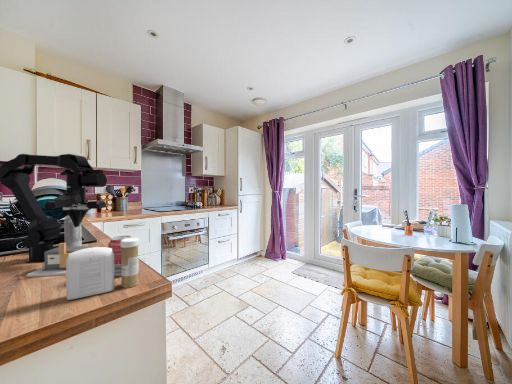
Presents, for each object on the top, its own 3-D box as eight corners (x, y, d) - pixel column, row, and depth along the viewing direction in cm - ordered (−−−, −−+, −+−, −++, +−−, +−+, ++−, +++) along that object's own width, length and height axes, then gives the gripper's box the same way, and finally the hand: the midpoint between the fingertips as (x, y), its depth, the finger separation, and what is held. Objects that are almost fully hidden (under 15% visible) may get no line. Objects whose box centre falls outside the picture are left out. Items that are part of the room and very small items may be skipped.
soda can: (130, 267, 76) (130, 234, 75) (136, 273, 71) (136, 237, 70) (106, 273, 71) (105, 237, 70) (111, 280, 66) (110, 241, 65)
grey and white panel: (26, 276, 68) (26, 255, 68) (58, 262, 81) (57, 244, 81) (89, 273, 70) (88, 253, 70) (110, 260, 83) (109, 243, 83)
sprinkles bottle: (118, 285, 62) (118, 239, 62) (135, 280, 66) (135, 236, 65) (124, 290, 59) (123, 242, 59) (141, 284, 63) (141, 239, 63)
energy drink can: (77, 246, 103) (76, 215, 102) (84, 248, 100) (84, 216, 100) (61, 249, 97) (61, 217, 97) (69, 251, 95) (68, 217, 94)
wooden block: (59, 268, 71) (58, 243, 71) (61, 267, 72) (60, 243, 72) (75, 267, 72) (75, 243, 72) (77, 266, 73) (77, 242, 72)
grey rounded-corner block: (114, 285, 62) (114, 243, 62) (114, 291, 58) (114, 246, 58) (68, 295, 56) (67, 249, 56) (64, 302, 53) (63, 253, 53)
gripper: (30, 187, 74) (31, 231, 74) (89, 187, 77) (90, 230, 77) (55, 187, 85) (56, 226, 85) (106, 187, 88) (107, 224, 88)
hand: (76, 226), depth 84 cm, fingers closed
